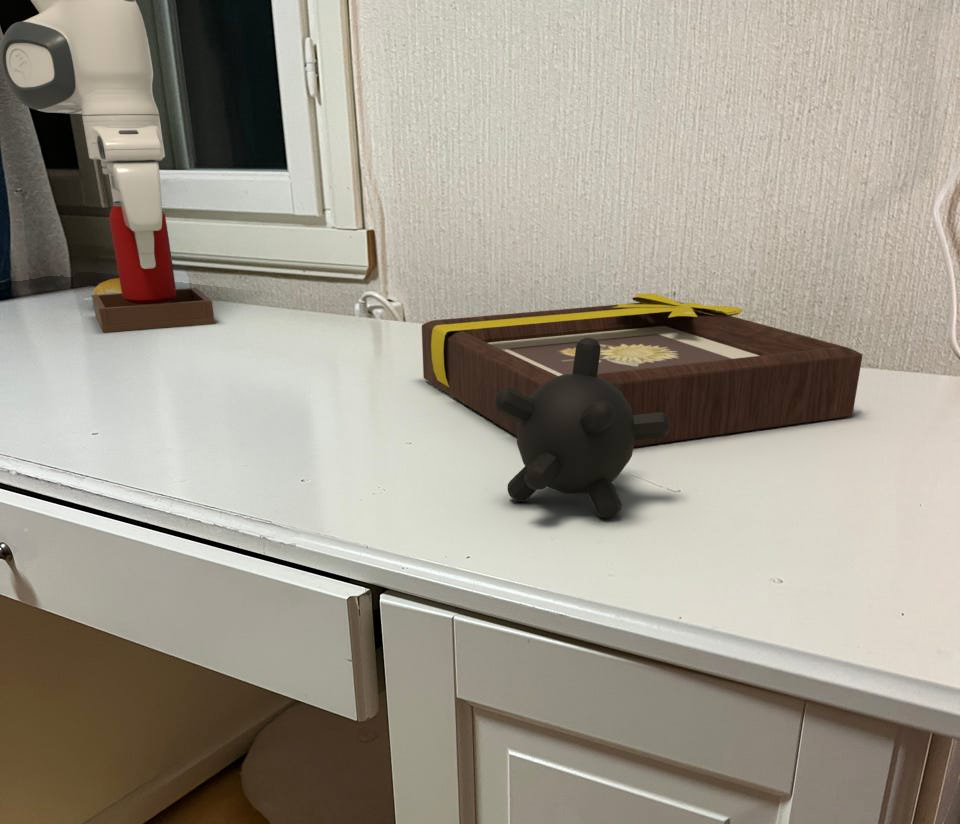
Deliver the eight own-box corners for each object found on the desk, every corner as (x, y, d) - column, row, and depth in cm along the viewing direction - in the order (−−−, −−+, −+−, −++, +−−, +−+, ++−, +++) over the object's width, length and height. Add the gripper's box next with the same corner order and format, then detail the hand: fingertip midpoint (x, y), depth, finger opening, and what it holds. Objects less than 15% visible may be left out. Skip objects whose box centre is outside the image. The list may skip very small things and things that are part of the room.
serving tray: (103, 332, 121) (98, 309, 120) (95, 316, 131) (91, 294, 130) (215, 323, 126) (211, 300, 125) (199, 309, 136) (196, 287, 135)
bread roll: (169, 301, 142) (164, 272, 141) (137, 312, 135) (132, 281, 133) (117, 300, 144) (112, 271, 142) (83, 310, 136) (77, 279, 134)
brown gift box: (415, 310, 93) (686, 288, 103) (418, 381, 96) (680, 353, 106) (546, 372, 70) (879, 336, 80) (544, 462, 73) (865, 416, 83)
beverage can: (186, 299, 130) (172, 199, 125) (162, 307, 124) (147, 203, 119) (139, 297, 131) (123, 199, 126) (113, 306, 125) (95, 203, 120)
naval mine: (428, 464, 63) (519, 378, 70) (544, 581, 64) (621, 485, 71) (516, 367, 54) (609, 281, 62) (647, 505, 56) (723, 404, 63)
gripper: (91, 142, 127) (111, 257, 133) (104, 144, 110) (126, 275, 116) (142, 141, 129) (159, 254, 135) (163, 143, 112) (181, 272, 118)
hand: (144, 264), depth 126 cm, fingers closed on beverage can, 7 cm apart
